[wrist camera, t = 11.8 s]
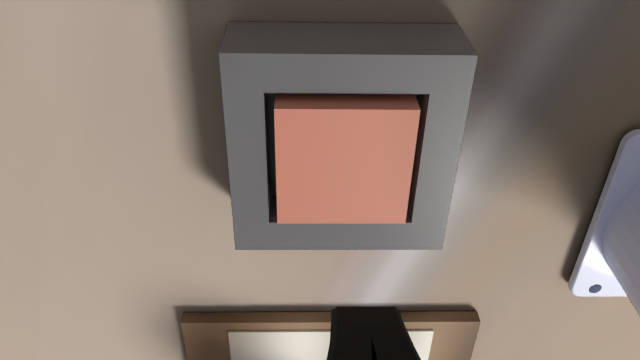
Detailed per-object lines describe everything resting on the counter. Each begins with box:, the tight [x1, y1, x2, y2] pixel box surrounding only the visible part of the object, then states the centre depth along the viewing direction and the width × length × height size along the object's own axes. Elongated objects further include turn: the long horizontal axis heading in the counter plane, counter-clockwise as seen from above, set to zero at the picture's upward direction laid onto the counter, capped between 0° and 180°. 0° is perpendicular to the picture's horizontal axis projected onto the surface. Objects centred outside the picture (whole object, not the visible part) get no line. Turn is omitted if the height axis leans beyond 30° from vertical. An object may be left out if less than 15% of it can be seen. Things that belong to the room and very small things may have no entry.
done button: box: [274, 93, 421, 224], centre depth 18 cm, size 4×4×2 cm
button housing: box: [219, 22, 478, 250], centre depth 19 cm, size 7×7×2 cm
